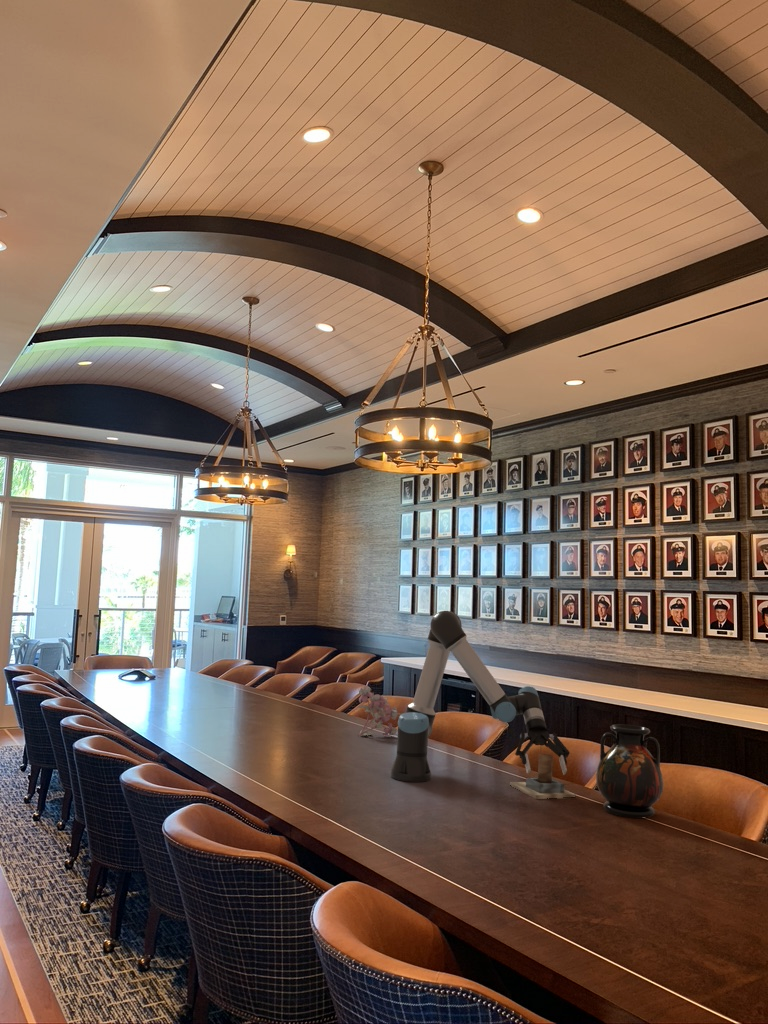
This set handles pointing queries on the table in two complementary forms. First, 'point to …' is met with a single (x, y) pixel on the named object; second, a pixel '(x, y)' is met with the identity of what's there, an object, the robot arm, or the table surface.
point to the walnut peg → (545, 768)
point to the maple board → (542, 789)
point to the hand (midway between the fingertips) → (547, 772)
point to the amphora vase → (629, 773)
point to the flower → (379, 706)
